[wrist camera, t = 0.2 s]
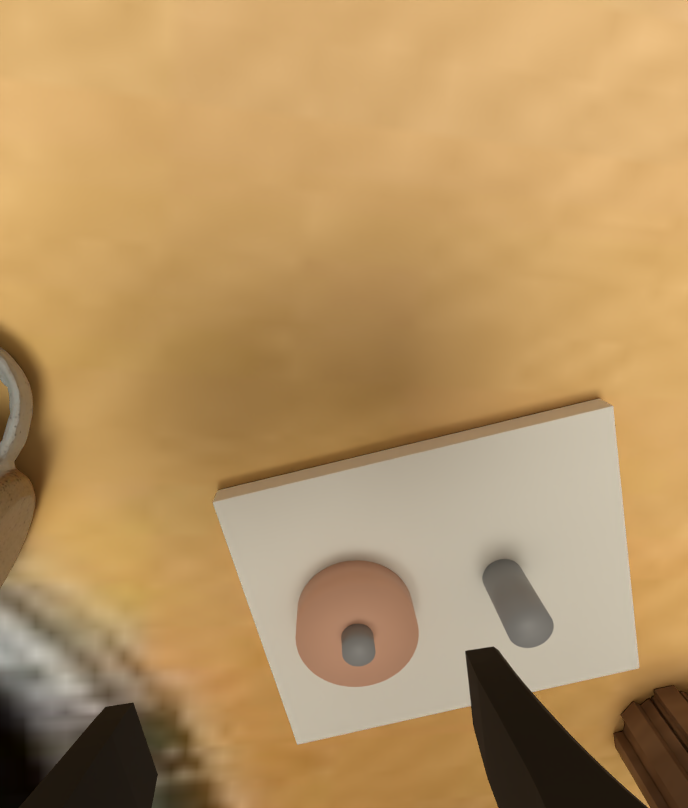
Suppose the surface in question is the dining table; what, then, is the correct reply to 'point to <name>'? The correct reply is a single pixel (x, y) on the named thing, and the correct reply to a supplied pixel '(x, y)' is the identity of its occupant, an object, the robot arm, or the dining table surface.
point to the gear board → (438, 568)
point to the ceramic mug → (5, 485)
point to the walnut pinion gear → (658, 747)
